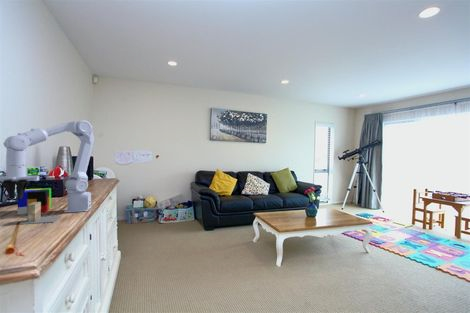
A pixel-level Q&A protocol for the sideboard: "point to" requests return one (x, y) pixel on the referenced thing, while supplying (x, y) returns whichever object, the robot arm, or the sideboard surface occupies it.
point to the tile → (33, 211)
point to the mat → (42, 220)
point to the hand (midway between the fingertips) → (16, 198)
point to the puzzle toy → (35, 199)
